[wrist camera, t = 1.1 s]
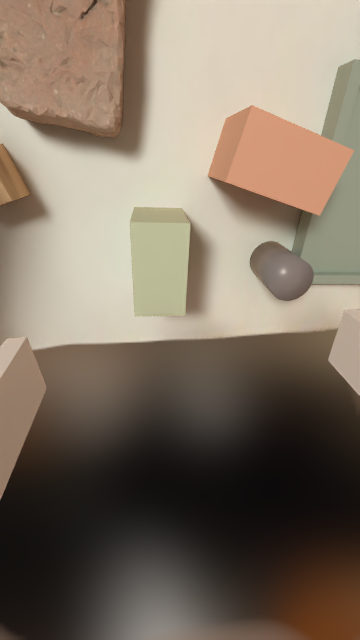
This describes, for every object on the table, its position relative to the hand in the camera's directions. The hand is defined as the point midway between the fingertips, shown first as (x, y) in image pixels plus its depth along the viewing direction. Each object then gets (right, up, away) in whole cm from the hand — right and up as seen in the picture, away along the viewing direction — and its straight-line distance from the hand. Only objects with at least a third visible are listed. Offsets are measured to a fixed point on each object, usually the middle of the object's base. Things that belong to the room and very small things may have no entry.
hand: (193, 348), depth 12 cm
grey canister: (+9, +8, +18) cm, 22 cm away
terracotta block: (+6, +16, +13) cm, 22 cm away
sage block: (-3, +9, +17) cm, 19 cm away
